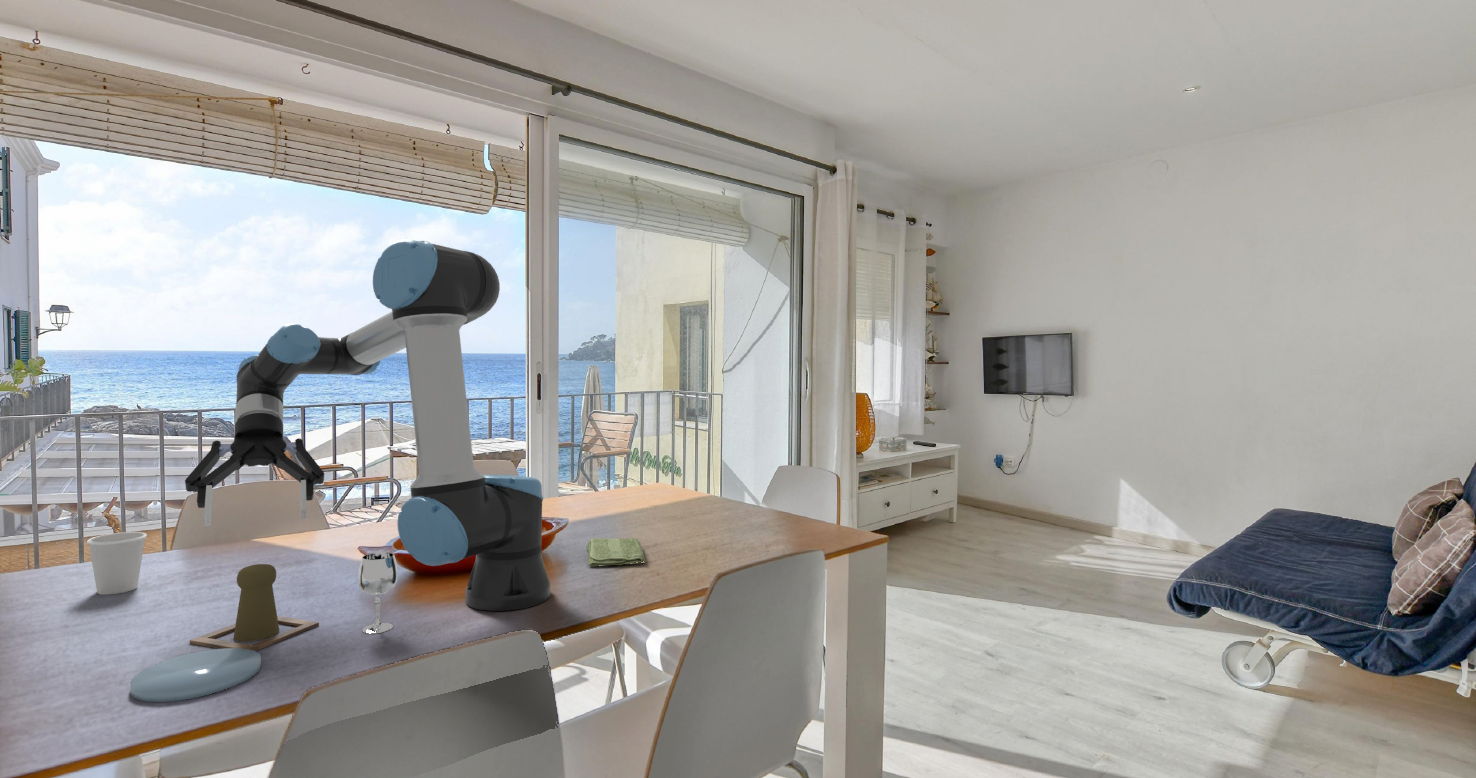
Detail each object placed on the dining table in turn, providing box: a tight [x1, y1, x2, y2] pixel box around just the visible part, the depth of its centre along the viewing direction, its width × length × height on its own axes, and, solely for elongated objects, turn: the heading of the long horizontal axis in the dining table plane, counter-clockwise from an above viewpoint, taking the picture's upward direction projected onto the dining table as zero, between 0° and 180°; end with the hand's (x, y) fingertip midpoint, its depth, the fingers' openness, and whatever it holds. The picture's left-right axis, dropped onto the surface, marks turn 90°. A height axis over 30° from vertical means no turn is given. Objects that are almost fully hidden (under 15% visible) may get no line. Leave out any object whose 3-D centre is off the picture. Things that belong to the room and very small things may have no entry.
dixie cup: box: [86, 531, 148, 596], centre depth 129 cm, size 8×8×10 cm
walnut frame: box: [189, 615, 320, 652], centre depth 109 cm, size 12×12×1 cm
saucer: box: [130, 648, 262, 703], centre depth 94 cm, size 14×14×1 cm
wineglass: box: [357, 551, 399, 635], centre depth 112 cm, size 6×6×12 cm
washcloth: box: [586, 537, 647, 567], centre depth 159 cm, size 13×18×3 cm
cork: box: [232, 563, 280, 643], centre depth 109 cm, size 6×6×11 cm
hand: (257, 518), depth 118 cm, fingers open, 13 cm apart
